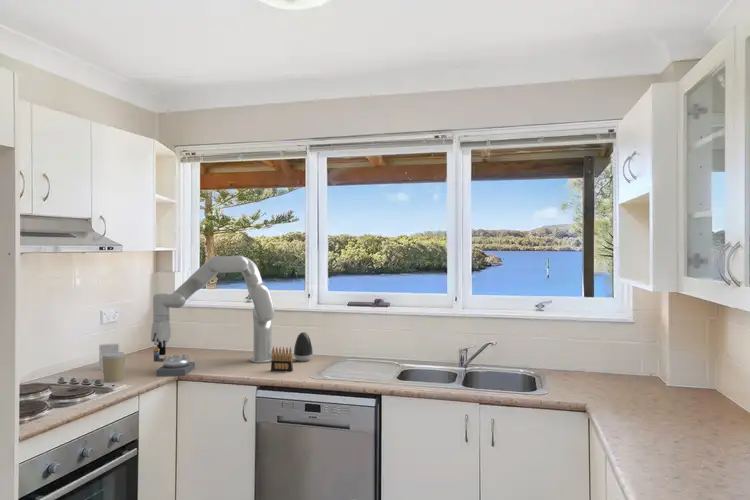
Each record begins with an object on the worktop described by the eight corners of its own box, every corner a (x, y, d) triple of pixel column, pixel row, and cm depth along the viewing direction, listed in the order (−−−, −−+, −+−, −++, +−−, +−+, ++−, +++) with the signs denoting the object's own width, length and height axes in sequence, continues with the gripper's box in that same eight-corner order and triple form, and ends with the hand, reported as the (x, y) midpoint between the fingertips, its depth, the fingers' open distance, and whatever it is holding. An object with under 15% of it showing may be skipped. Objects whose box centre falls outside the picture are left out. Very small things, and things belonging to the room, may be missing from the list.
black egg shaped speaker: (313, 358, 272) (313, 330, 272) (311, 362, 261) (311, 334, 261) (295, 358, 272) (295, 330, 272) (292, 362, 262) (292, 333, 262)
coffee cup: (129, 378, 228) (129, 352, 228) (113, 383, 219) (113, 356, 219) (114, 376, 231) (114, 351, 231) (97, 381, 222) (97, 355, 222)
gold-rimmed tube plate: (193, 362, 246) (193, 347, 246) (181, 368, 234) (181, 352, 234) (160, 361, 248) (160, 346, 248) (146, 367, 237) (146, 351, 237)
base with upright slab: (120, 365, 255) (120, 342, 255) (117, 369, 246) (117, 345, 246) (101, 366, 252) (101, 343, 252) (97, 370, 243) (97, 346, 243)
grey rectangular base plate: (194, 367, 249) (194, 361, 249) (184, 375, 233) (184, 368, 233) (168, 368, 248) (168, 361, 248) (156, 376, 232) (156, 369, 232)
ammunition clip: (270, 371, 243) (270, 346, 243) (272, 370, 245) (272, 346, 245) (291, 371, 241) (291, 347, 241) (292, 370, 243) (292, 346, 243)
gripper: (163, 316, 254) (163, 351, 254) (145, 320, 239) (145, 357, 239) (176, 316, 253) (176, 351, 253) (159, 320, 238) (159, 358, 238)
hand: (161, 354), depth 246 cm, fingers closed
